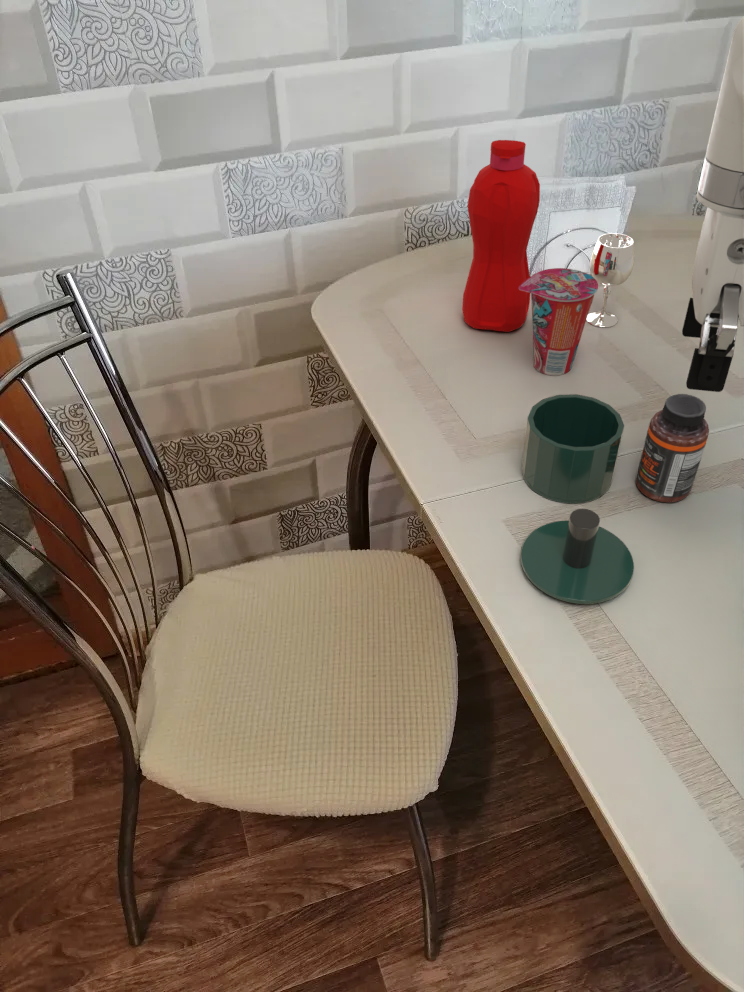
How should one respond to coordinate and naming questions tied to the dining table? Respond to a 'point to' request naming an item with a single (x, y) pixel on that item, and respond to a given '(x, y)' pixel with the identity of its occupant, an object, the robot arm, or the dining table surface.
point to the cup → (558, 316)
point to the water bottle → (500, 239)
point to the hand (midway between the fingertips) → (700, 361)
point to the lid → (577, 560)
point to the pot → (571, 448)
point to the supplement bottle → (673, 449)
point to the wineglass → (610, 270)
